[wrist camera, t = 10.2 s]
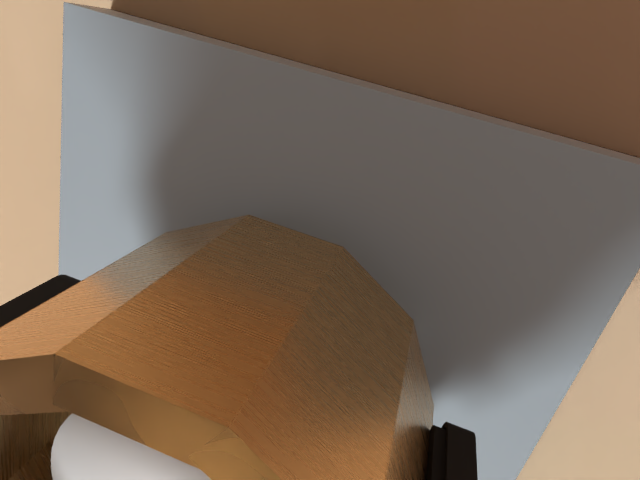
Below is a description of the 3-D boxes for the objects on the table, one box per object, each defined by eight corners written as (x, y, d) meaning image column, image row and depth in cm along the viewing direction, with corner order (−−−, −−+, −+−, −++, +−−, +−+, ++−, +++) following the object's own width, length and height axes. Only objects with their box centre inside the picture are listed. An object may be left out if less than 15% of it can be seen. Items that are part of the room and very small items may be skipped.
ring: (483, 294, 9) (510, 544, 4) (370, 548, 12) (313, 857, 7) (129, 173, 10) (-153, 267, 5) (108, 432, 13) (-84, 635, 8)
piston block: (658, 163, 10) (965, 314, 4) (443, 555, 15) (434, 876, 9) (109, 9, 12) (-241, -45, 6) (88, 402, 17) (-110, 584, 11)
